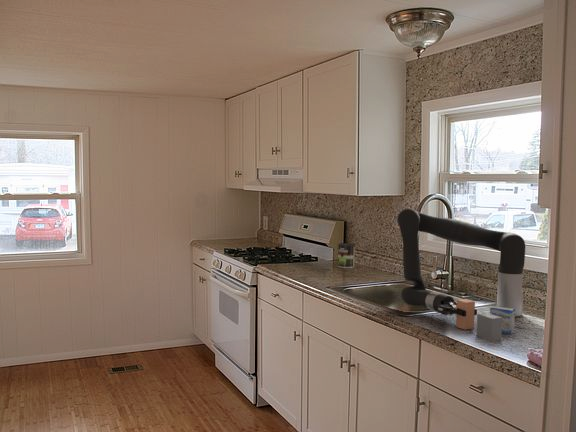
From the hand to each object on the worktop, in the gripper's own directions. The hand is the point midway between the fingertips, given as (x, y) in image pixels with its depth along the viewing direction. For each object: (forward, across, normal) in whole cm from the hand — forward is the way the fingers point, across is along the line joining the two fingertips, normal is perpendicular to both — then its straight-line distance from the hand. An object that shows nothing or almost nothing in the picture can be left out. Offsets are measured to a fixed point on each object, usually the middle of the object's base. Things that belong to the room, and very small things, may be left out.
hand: (470, 313), depth 200 cm
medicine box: (+5, +10, +7) cm, 13 cm away
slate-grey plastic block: (+10, -1, +6) cm, 12 cm away
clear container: (-139, +29, +7) cm, 142 cm away
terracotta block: (-3, 0, +6) cm, 7 cm away
